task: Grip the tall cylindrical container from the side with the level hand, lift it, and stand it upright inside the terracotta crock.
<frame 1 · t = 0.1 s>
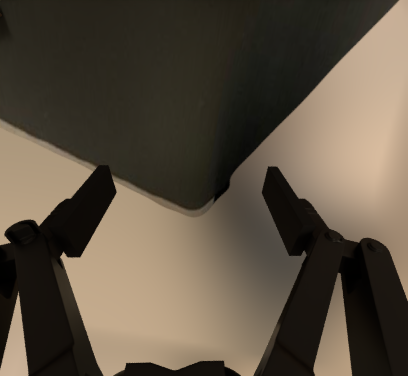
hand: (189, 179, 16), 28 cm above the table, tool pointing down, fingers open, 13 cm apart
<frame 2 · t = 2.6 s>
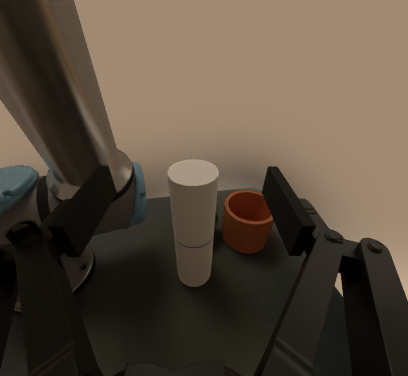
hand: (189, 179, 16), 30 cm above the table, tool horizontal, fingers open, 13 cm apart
crock: (244, 234, 50), on the table
cylindrical container: (194, 270, 42), on the table
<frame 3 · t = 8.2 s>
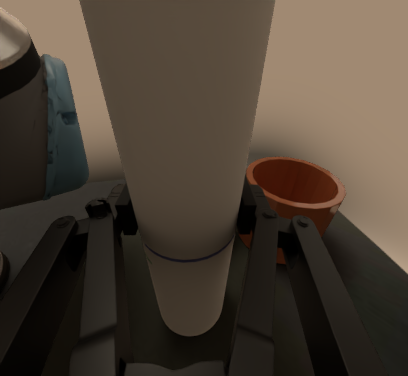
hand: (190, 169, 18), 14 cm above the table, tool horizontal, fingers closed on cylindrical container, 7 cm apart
crock: (274, 231, 30), on the table
cylindrical container: (191, 299, 22), on the table, touching gripper
when the fingers open (15 cm above the table, at t = 17.9 s): cylindrical container stays where it is, resting on crock.
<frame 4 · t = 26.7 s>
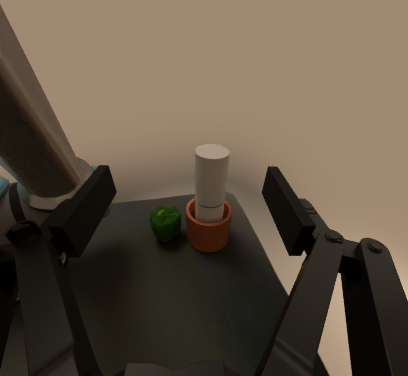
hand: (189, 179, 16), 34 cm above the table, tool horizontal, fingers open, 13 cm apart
crock: (207, 235, 55), on the table
cylindrical container: (208, 233, 54), point 1 cm above the table, touching crock
bell pepper: (166, 234, 55), on the table
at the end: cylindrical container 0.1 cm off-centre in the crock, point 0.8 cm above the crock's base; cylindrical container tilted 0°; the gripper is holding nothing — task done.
